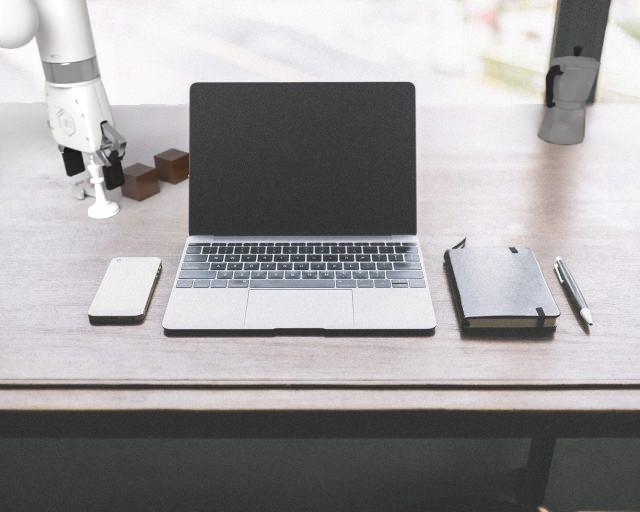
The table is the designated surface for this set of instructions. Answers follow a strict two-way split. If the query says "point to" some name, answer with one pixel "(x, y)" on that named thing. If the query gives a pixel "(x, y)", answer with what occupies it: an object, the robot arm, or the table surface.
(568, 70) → the coffeepot
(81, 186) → the grey rock
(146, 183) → the block mid
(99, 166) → the chess piece
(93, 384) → the table surface
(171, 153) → the block far
